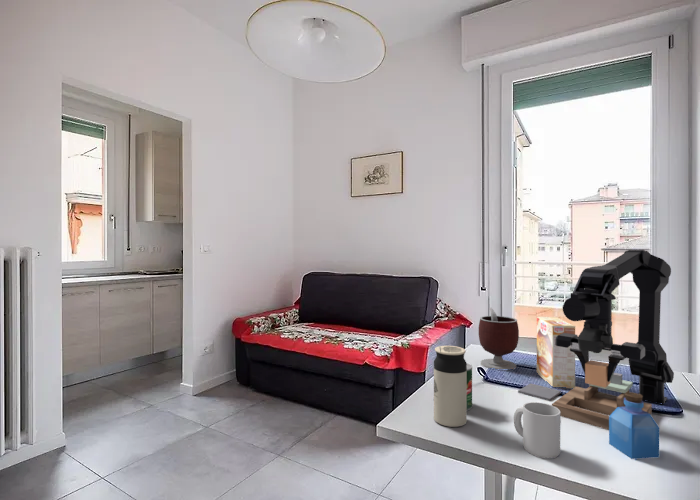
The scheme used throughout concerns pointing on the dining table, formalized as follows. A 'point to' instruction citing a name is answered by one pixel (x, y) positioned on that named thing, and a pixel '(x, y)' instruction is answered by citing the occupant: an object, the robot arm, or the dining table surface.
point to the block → (596, 373)
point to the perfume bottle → (634, 429)
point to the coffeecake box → (554, 353)
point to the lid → (617, 384)
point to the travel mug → (450, 386)
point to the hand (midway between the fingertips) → (597, 378)
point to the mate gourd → (498, 339)
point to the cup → (539, 429)
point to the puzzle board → (591, 406)
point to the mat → (539, 392)
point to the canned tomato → (469, 386)
